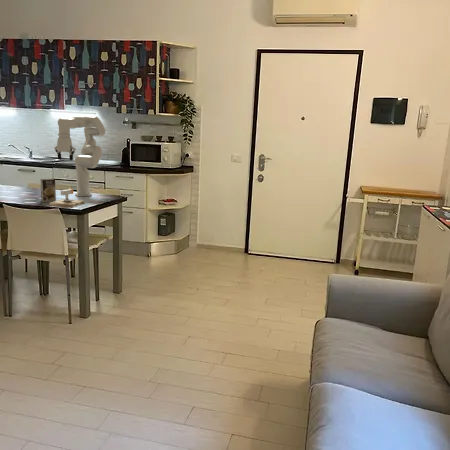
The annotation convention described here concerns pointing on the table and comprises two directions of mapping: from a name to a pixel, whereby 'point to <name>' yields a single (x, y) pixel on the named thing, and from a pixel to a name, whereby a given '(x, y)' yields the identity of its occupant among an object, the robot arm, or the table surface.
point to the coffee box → (48, 190)
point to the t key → (66, 192)
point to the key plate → (66, 203)
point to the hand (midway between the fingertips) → (65, 159)
